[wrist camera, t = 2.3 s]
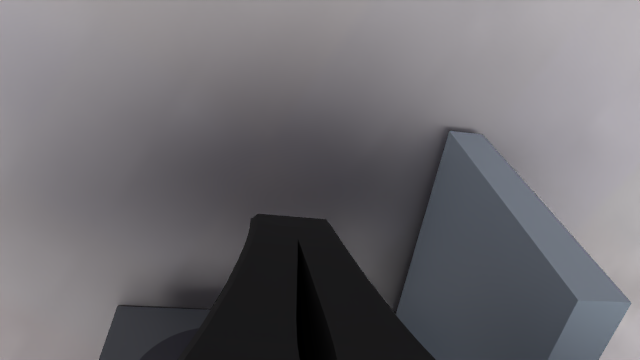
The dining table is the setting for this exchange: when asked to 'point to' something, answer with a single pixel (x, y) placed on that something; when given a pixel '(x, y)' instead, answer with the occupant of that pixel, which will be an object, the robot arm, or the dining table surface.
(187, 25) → the dining table surface
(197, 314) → the box
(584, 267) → the side door
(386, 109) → the dining table surface
